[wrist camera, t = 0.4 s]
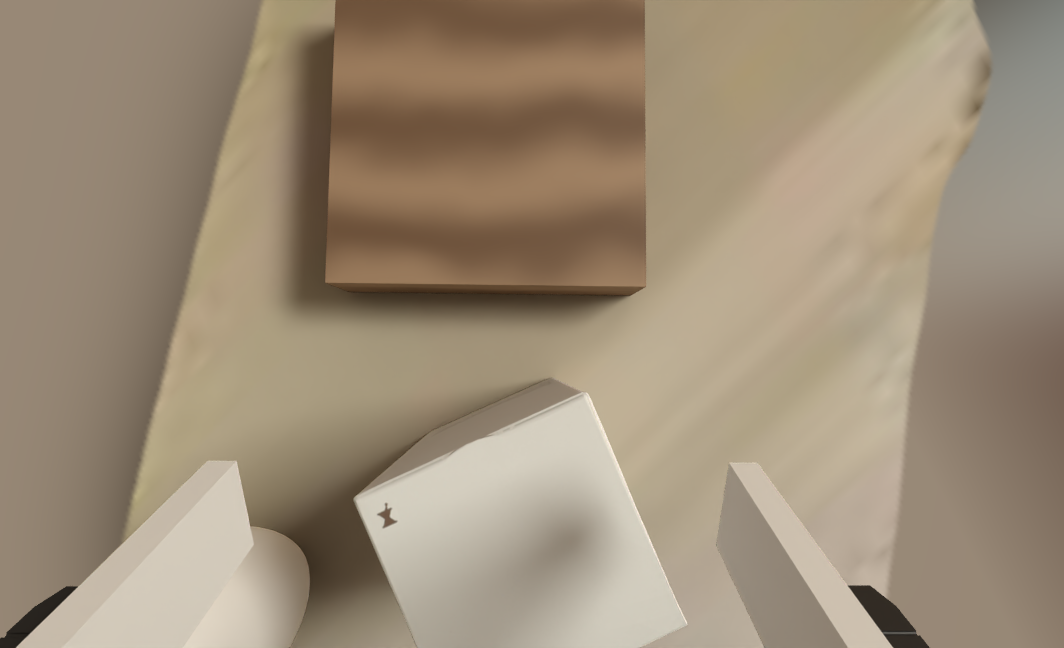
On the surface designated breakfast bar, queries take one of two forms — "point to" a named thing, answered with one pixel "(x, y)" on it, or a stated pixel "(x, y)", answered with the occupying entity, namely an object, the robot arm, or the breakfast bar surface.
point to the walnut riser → (488, 147)
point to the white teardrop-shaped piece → (259, 598)
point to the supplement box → (518, 532)
